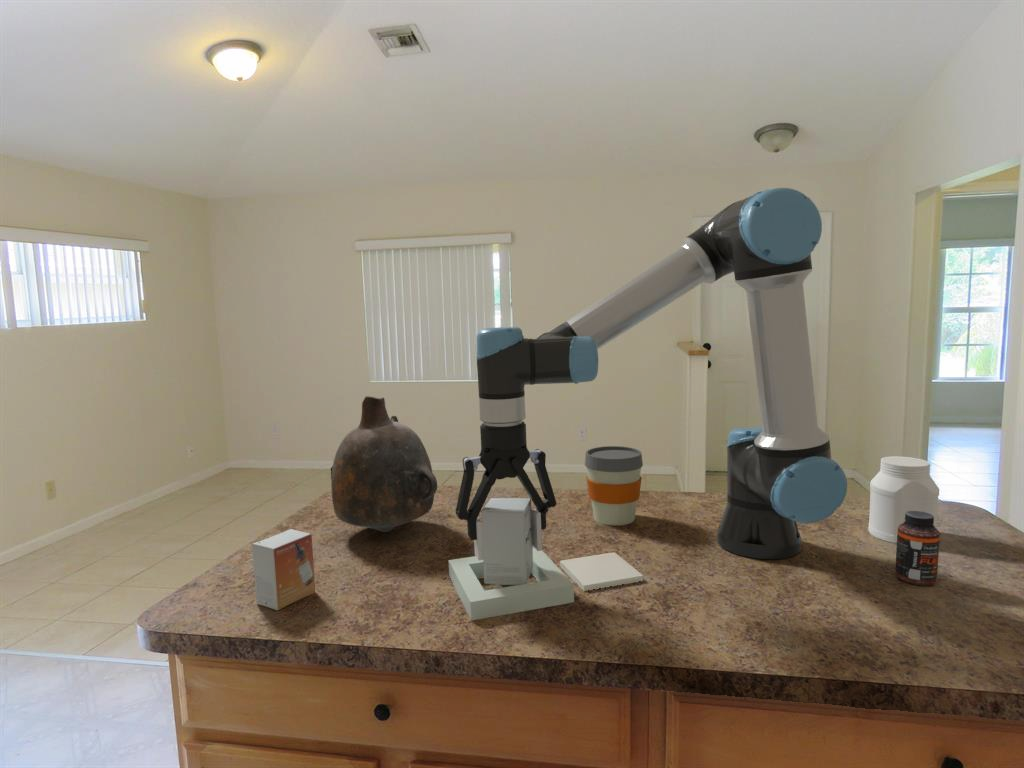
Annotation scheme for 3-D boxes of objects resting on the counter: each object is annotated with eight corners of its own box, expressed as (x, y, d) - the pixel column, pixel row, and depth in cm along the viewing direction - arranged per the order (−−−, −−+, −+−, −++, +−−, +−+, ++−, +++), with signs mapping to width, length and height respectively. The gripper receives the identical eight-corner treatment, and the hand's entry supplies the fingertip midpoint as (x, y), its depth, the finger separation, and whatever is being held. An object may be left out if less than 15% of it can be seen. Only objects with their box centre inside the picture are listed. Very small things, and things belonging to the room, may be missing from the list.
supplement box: (527, 586, 103) (524, 511, 101) (483, 584, 104) (479, 510, 103) (534, 567, 110) (532, 497, 108) (493, 566, 111) (489, 496, 110)
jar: (922, 527, 129) (926, 455, 127) (945, 545, 120) (949, 468, 118) (861, 525, 131) (864, 454, 129) (879, 542, 122) (882, 466, 120)
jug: (445, 512, 148) (439, 385, 144) (437, 548, 126) (430, 399, 123) (340, 517, 147) (331, 389, 143) (314, 553, 126) (303, 404, 122)
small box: (277, 612, 102) (272, 549, 100) (255, 604, 105) (250, 543, 103) (316, 592, 108) (312, 533, 107) (295, 585, 111) (290, 527, 110)
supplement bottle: (923, 590, 102) (927, 522, 101) (887, 576, 107) (890, 512, 106) (944, 581, 105) (948, 515, 103) (908, 569, 110) (911, 506, 109)
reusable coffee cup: (576, 522, 138) (574, 455, 136) (599, 506, 149) (598, 443, 147) (630, 532, 132) (630, 461, 130) (651, 514, 142) (650, 448, 140)
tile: (614, 557, 119) (614, 552, 119) (643, 581, 109) (643, 575, 108) (559, 565, 116) (559, 560, 116) (583, 591, 105) (583, 585, 105)
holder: (538, 562, 118) (538, 546, 117) (574, 602, 102) (573, 584, 101) (449, 576, 113) (448, 560, 113) (471, 620, 97) (470, 602, 96)
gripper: (557, 412, 110) (561, 535, 113) (431, 424, 104) (439, 554, 107) (574, 419, 103) (578, 550, 106) (440, 432, 97) (448, 571, 100)
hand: (508, 552), depth 107 cm, fingers closed on supplement box, 10 cm apart
